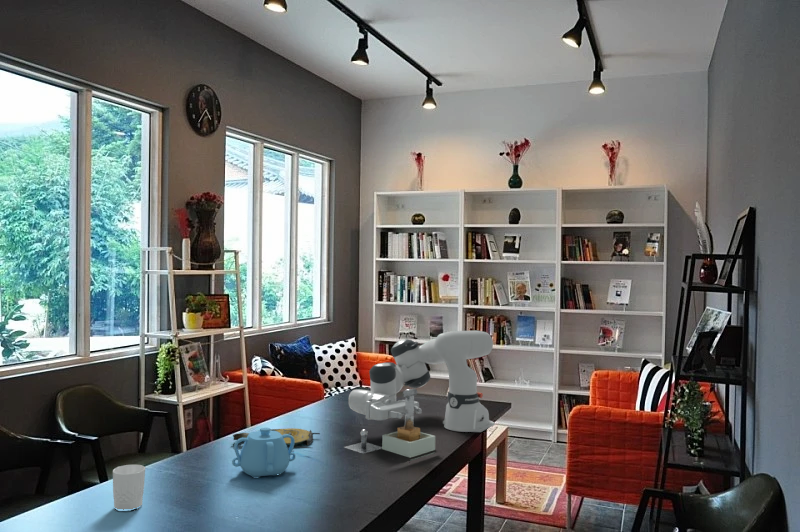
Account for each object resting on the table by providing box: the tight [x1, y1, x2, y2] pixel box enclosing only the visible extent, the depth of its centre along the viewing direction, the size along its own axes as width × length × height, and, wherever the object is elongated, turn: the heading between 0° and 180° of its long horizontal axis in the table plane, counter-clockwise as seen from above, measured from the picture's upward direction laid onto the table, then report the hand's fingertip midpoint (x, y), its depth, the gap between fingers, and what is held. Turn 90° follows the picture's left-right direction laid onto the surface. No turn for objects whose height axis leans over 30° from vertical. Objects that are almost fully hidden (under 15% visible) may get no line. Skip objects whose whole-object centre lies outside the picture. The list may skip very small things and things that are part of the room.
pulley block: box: [232, 427, 321, 450], centre depth 227 cm, size 14×6×30 cm
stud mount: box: [343, 428, 383, 455], centre depth 222 cm, size 10×10×8 cm
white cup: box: [112, 464, 146, 510], centre depth 167 cm, size 8×8×10 cm
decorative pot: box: [231, 427, 297, 478], centre depth 197 cm, size 16×16×14 cm
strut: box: [397, 388, 421, 442], centre depth 221 cm, size 6×6×21 cm
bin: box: [381, 430, 436, 462], centre depth 221 cm, size 13×13×6 cm
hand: (411, 413), depth 220 cm, fingers open, 8 cm apart
